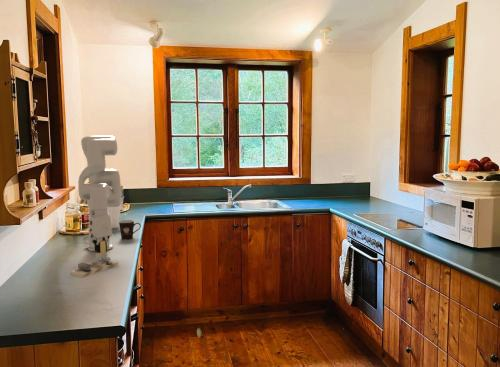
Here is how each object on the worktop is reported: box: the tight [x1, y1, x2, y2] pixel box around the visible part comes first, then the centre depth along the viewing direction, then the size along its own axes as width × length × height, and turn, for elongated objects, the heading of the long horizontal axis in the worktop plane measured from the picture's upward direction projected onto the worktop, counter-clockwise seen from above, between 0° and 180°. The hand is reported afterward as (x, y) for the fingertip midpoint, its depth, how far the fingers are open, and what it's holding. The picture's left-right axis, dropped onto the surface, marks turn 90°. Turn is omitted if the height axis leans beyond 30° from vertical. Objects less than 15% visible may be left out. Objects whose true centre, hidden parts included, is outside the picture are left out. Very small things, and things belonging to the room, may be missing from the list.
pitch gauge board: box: [69, 260, 119, 278], centre depth 205 cm, size 20×8×4 cm, turn 149°
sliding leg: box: [95, 240, 112, 264], centre depth 209 cm, size 3×7×10 cm, turn 59°
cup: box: [107, 198, 123, 229], centre depth 293 cm, size 11×11×18 cm
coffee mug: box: [118, 219, 142, 240], centre depth 264 cm, size 12×9×10 cm
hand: (101, 251), depth 210 cm, fingers closed on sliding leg, 3 cm apart
